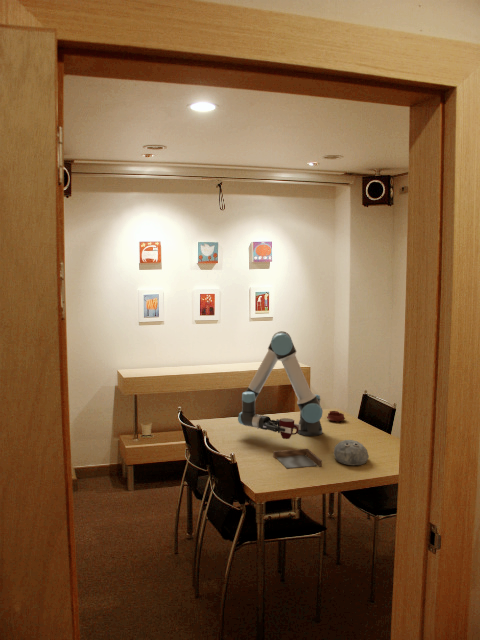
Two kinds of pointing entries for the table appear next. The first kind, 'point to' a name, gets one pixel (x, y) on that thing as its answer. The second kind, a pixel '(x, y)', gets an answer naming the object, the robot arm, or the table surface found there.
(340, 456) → the decorative stone
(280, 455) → the tray
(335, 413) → the pottery
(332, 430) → the table surface
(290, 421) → the mug
